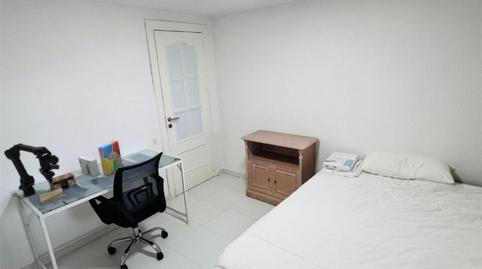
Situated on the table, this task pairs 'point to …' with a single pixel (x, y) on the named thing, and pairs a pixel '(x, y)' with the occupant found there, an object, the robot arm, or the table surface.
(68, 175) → the brown storage crate
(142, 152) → the table surface
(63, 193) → the pad
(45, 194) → the block
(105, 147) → the game box
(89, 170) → the skincare box
